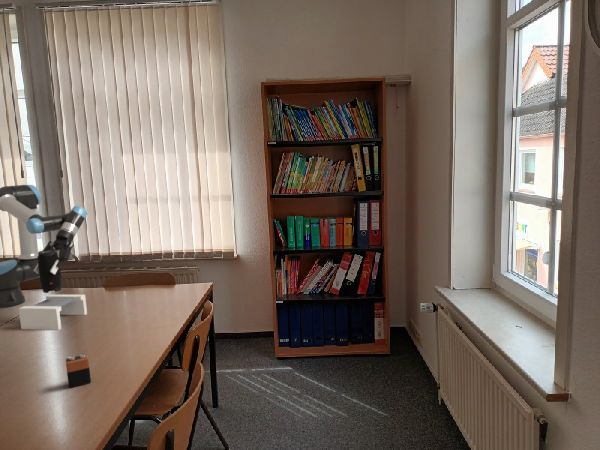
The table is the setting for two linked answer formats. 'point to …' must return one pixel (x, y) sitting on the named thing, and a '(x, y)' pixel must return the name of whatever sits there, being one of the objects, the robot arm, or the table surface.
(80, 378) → the battery
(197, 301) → the table surface
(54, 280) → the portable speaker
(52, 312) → the square spool
